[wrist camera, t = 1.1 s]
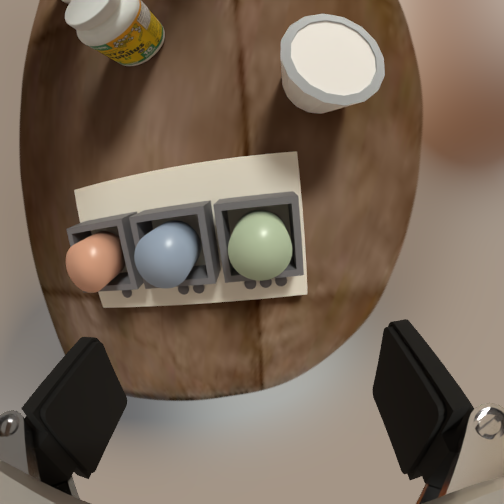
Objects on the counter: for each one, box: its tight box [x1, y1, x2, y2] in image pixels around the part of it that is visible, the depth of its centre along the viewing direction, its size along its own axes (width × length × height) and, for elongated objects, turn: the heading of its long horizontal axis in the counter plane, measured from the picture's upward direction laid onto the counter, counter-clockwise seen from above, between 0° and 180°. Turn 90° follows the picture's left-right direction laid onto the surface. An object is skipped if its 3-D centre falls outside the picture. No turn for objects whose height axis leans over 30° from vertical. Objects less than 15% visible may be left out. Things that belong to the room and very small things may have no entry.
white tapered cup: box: [281, 14, 385, 114], centre depth 17 cm, size 7×7×7 cm
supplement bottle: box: [65, 0, 165, 66], centre depth 15 cm, size 5×5×10 cm
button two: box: [134, 220, 201, 288], centre depth 20 cm, size 4×4×4 cm
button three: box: [228, 210, 292, 281], centre depth 19 cm, size 4×4×4 cm
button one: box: [66, 231, 126, 293], centre depth 20 cm, size 4×4×4 cm
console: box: [67, 151, 307, 308], centre depth 22 cm, size 12×20×4 cm, turn 97°
